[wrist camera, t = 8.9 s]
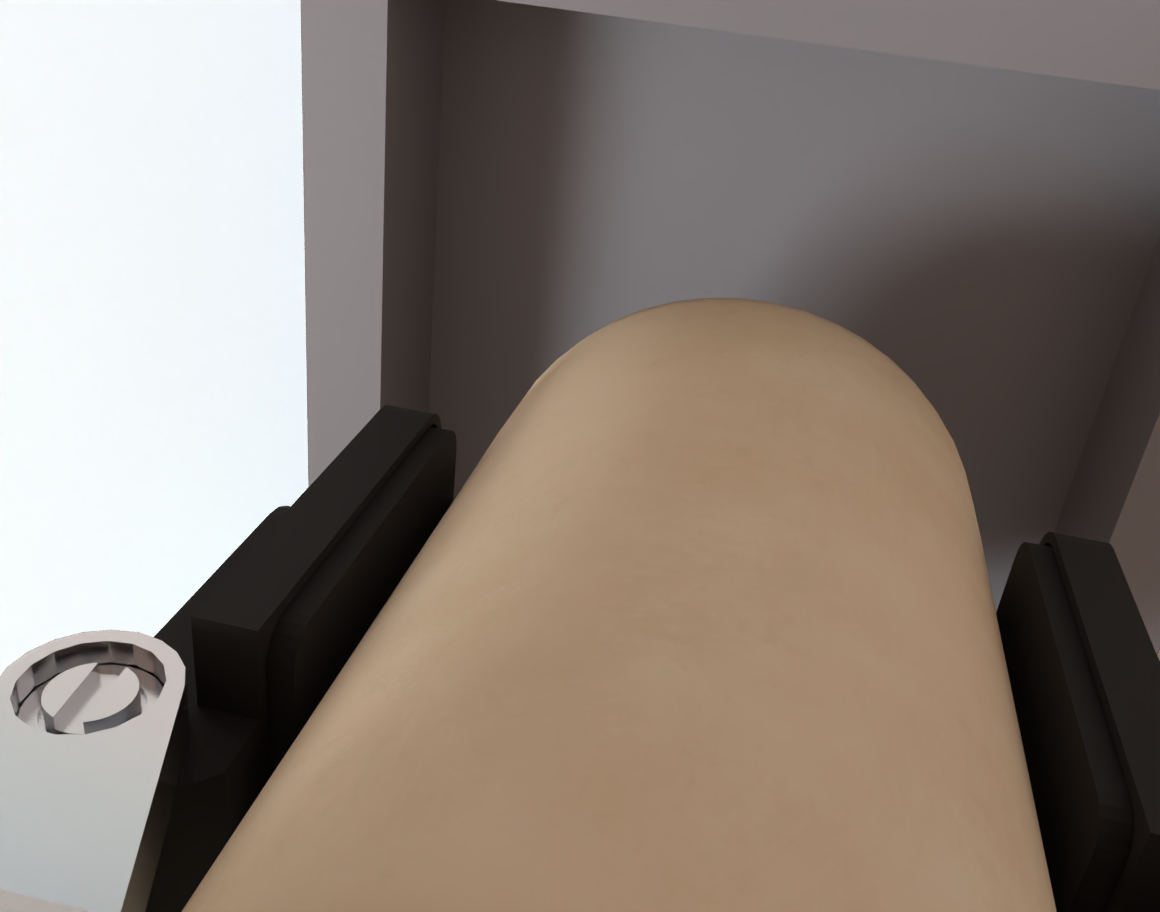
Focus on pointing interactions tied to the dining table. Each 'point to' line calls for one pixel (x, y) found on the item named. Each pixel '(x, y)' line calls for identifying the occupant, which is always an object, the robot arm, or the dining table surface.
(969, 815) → the candle
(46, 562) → the dining table surface
